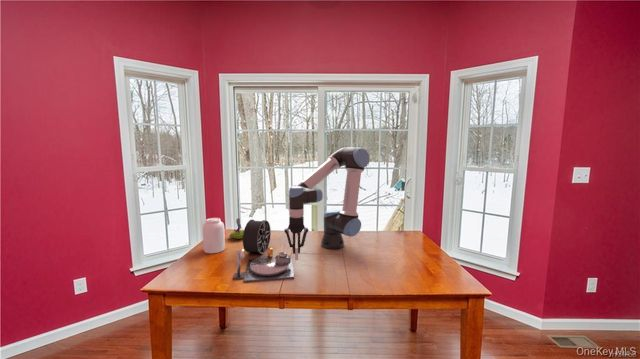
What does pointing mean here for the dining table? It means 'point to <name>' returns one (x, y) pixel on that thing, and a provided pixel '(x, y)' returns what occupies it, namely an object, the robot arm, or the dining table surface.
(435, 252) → the dining table surface
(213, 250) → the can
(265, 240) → the wheel rim
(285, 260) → the cover
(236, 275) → the dial stand
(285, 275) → the turntable base
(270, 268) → the turntable
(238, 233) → the figurine
